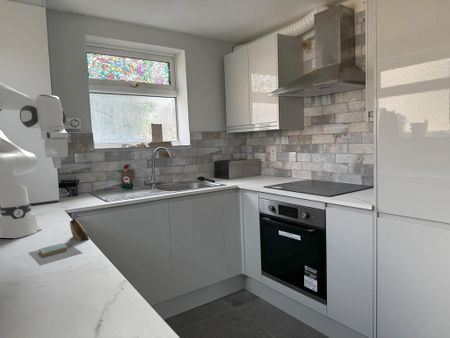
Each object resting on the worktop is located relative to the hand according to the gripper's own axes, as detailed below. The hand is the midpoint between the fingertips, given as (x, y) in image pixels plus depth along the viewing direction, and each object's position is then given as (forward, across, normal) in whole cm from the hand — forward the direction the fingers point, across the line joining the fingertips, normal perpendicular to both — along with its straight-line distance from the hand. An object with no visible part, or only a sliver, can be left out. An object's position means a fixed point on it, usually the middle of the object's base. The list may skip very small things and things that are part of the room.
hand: (57, 168), depth 132 cm
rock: (+31, +2, +5) cm, 32 cm away
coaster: (+30, +8, -8) cm, 32 cm away
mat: (+31, +13, -8) cm, 35 cm away
